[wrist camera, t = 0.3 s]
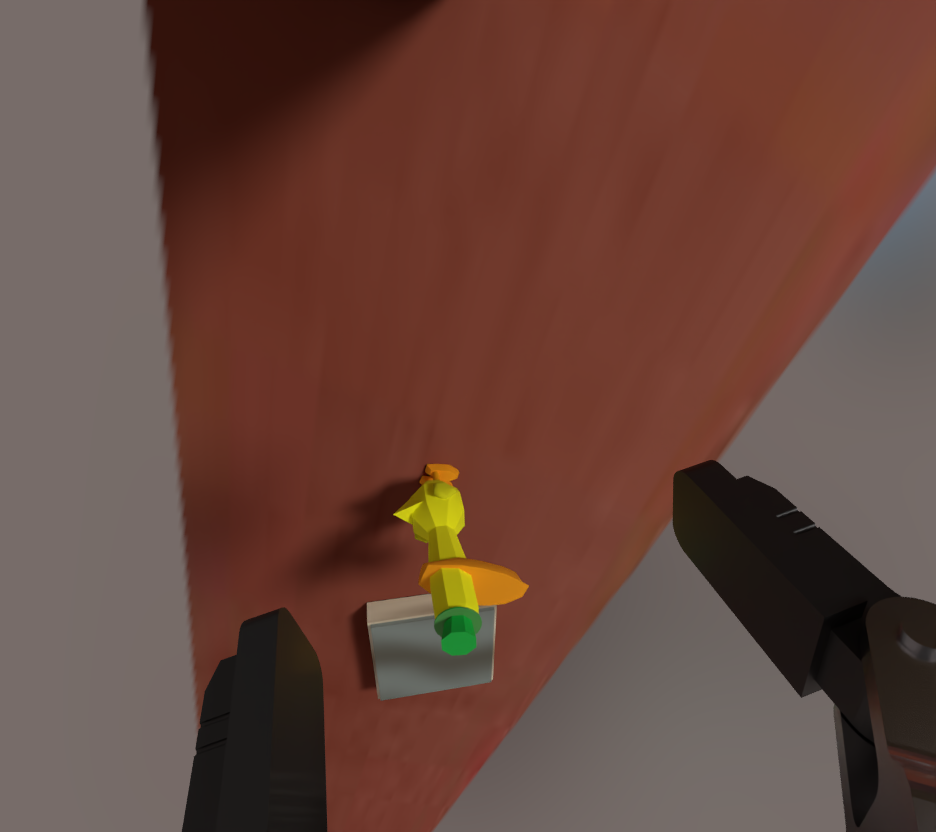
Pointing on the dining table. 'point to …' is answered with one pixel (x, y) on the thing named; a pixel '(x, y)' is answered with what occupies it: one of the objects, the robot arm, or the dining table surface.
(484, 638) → the stand
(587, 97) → the dining table surface
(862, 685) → the robot arm
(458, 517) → the toy figure
